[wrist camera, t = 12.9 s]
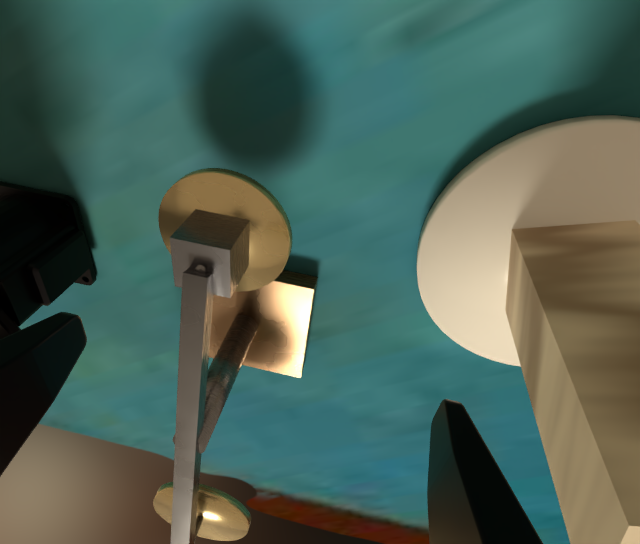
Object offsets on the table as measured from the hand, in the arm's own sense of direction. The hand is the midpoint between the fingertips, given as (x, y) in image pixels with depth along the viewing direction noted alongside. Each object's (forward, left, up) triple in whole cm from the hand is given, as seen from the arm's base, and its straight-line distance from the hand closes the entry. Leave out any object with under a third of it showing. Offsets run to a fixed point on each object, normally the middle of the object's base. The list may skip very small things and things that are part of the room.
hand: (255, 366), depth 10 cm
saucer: (+12, -3, -13) cm, 18 cm away
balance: (-4, -11, -13) cm, 17 cm away
